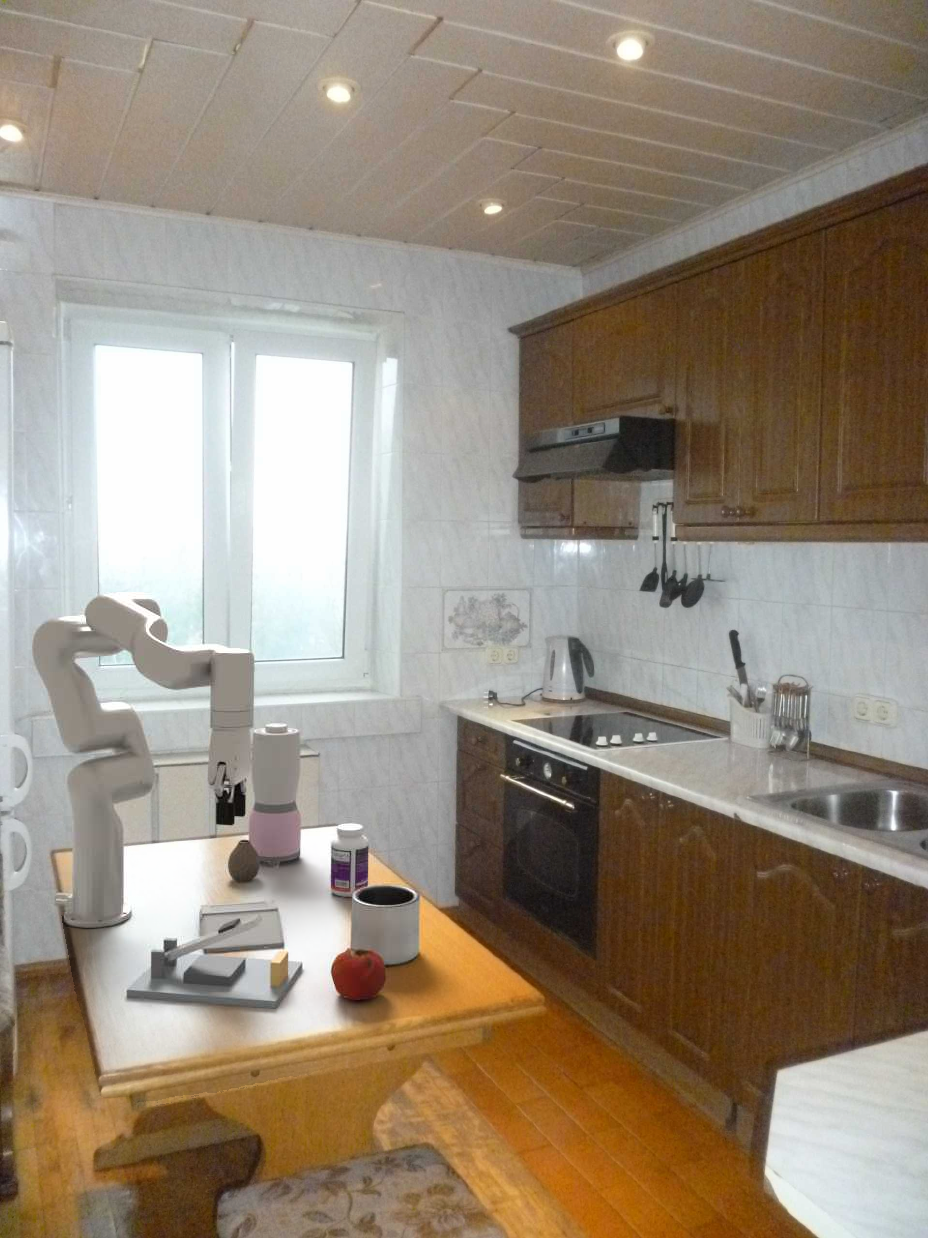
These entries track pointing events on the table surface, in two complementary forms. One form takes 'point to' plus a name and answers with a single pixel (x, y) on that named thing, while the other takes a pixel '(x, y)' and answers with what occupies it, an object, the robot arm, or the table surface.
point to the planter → (386, 922)
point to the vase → (243, 862)
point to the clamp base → (216, 994)
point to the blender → (275, 794)
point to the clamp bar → (214, 937)
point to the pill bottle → (349, 860)
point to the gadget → (221, 914)
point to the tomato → (358, 974)
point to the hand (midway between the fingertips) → (230, 819)
